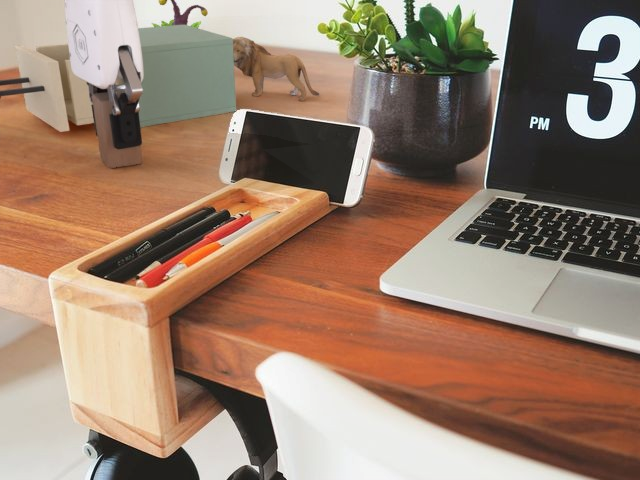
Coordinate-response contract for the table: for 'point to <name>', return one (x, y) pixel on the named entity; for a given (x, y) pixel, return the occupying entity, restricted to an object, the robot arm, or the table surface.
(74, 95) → the drawer
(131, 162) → the wooden block
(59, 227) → the table surface
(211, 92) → the cabinet
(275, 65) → the lion figurine
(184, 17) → the plant
